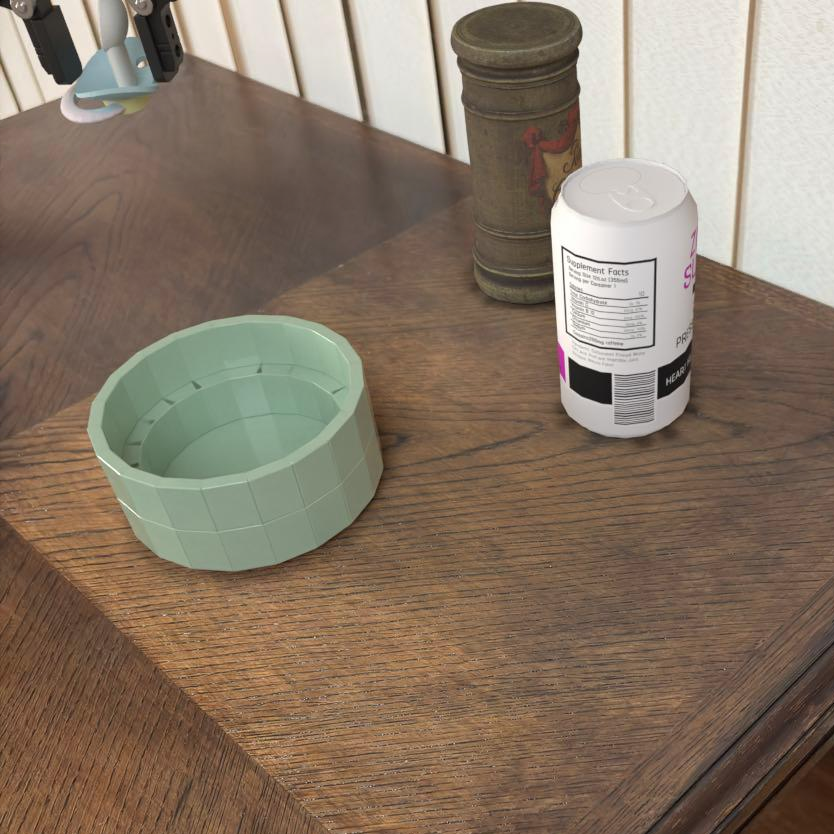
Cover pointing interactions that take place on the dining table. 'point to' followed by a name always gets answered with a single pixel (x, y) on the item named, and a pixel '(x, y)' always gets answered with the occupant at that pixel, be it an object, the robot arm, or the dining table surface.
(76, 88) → the pacifier
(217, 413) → the bowl
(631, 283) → the supplement can
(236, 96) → the dining table surface
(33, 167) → the dining table surface
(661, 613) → the dining table surface
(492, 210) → the container
